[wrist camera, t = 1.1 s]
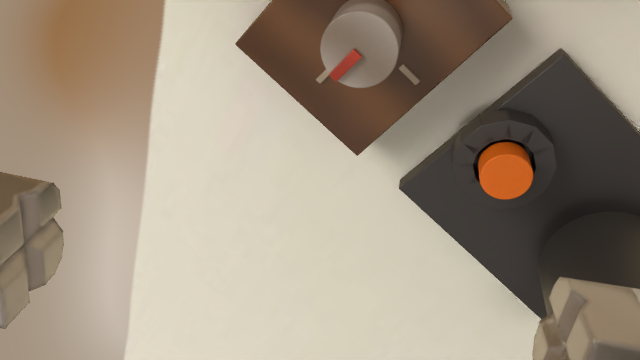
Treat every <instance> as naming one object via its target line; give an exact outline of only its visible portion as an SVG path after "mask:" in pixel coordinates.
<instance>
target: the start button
mask: <svg viewBox="0 0 640 360" xmlns="http://www.w3.org/2000/svg"><path fill="white" fill-rule="evenodd" d="M478 170H479V179H480V184H481V186H482V188H483V190H484V191H485V192H486V193H487V194H489V195H490V196H492V197H494V198H497V199H513V198H516V197H519V196H521V195H522V194H524V193H525V192H526V191H527V190H528V189H529V187H530V186H531V184H532V181H533V170H532V166H531V162H530V159H529V156H528V154H527V152H526V151H525V150H524V149H523V148H522V147H521V146H519V145H517V144H515V143H511V142H499V143H495V144H493V145H491V146H489V147H488V148H487V149H485V150H484V151H483V153H482V154H481V156H480V158H479V161H478Z"/></svg>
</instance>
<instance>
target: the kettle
mask: <svg viewBox="0 0 640 360" xmlns="http://www.w3.org/2000/svg"><path fill="white" fill-rule="evenodd" d="M538 274H539V279H540V284H541V288H542V293H543V298H544V302H545V307H546V312H547V316H548V315H549V314H551V313H553V309H552V306H551V303H550V300H549V297H550V294H551V292H552V289H553V286H554V284H555V283H556V282H557V280H558V279H559V277H565V278H572V279H578V280H585V281H591V282H597V283H604V284H610V285H616V286H623V287H629V288H636V289H640V216H637V215H633V214H629V213H622V212H602V213H595V214H590V215H587V216H583V217H580V218H578V219H576V220H573V221H571V222H569V223H568V224H566V225H564V226H563V227H562V228H560V229H559V230H557V231H556V232H555V233H554V234H553V235H552V236H551V237H550V239H549V240H548V241H547V242H546V244H545V246H544V247H543V249H542V251H541V254H540V257H539V261H538Z"/></svg>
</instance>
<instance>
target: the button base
mask: <svg viewBox="0 0 640 360" xmlns="http://www.w3.org/2000/svg"><path fill="white" fill-rule="evenodd" d="M499 142H511V143H515V144H517V145H519V146H521V147H522V148H523V149H524V150H525V151H526V152H527V154H528V156H529V159H530V162H531V166H532V170H533V181H532V184H531V186H530V187H529V189H528V190H527V191H526V192H525V193H524V194H522V195H521V196H519V197H516V198H513V199H497V198H494V197H492V196H490V195H489V194H487V193H486V192H485V191H484V190H483V188H482V186H481V184H480V179H479V170H478V161H479V158H480V156H481V154H482V153H483V151H484V150H485V149H487V148H488V147H489V146H491V145H493V144H495V143H499ZM399 189H400V190H401V191H402V192H404V193H405V194H406V195H407V196H408V197H409V198H410V199H411V200H412V201H413V202H414V203H416V204H417V205H418V206H419V207H420V208H421V209H422V210H423V211H424V212H425V213H426V214H428V215H429V216H430V217H431V218H432V219H433V220H434V221H435V222H436V223H437V224H438V225H440V226H441V227H442V228H443V229H444V230H445V231H446V232H447V233H448V234H449V235H450V236H451V237H453V238H454V239H455V240H456V241H457V242H458V243H459V244H460V245H461V246H462V247H463V248H465V249H466V250H467V251H468V252H469V253H470V254H471V255H472V256H473V257H474V258H475V259H477V260H478V261H479V262H480V263H481V264H482V265H483V266H484V267H485V268H486V269H487V270H489V271H490V272H491V273H492V274H493V275H494V276H495V277H496V278H497V279H498V280H499V281H500V282H502V283H503V284H504V285H505V286H506V287H507V288H508V289H509V290H510V291H511V292H512V293H514V294H515V295H516V296H517V297H518V298H519V299H520V300H521V301H522V302H523V303H524V304H526V305H527V306H528V307H529V308H530V309H531V310H532V311H533V312H534V313H535V314H536V315H538V316H539V317H540V318H541V319H543V318H545V317H546V316H547V312H546V307H545V302H544V298H543V293H542V288H541V284H540V279H539V274H538V261H539V257H540V254H541V251H542V249H543V247H544V246H545V244H546V242H547V241H548V240H549V239H550V237H551V236H552V235H553V234H554V233H555V232H556V231H557V230H559V229H560V228H562V227H563V226H564V225H566V224H568V223H569V222H571V221H573V220H576V219H578V218H580V217H583V216H587V215H590V214H595V213H602V212H622V213H629V214H633V215H637V216H640V133H639V132H638V130H637V129H636V128H635V127H634V126H633V125H632V124H631V123H630V122H629V121H628V120H627V119H626V118H625V116H624V115H623V114H622V113H621V112H620V111H619V110H618V109H617V108H616V107H615V106H614V105H613V104H612V102H611V101H610V100H609V99H608V98H607V97H606V96H605V95H604V94H603V93H602V92H601V91H600V90H599V89H598V87H597V86H596V85H595V84H594V83H593V82H592V81H591V80H590V79H589V78H588V77H587V76H586V75H585V73H584V72H583V71H582V70H581V69H580V68H579V67H578V66H577V65H576V64H575V63H574V62H573V61H572V59H571V58H570V57H569V56H568V55H567V54H566V53H565V52H564V51H563V50H562V49H560V50H558V51H557V52H556V53H555V54H553V55H552V56H551V57H550V58H549V59H547V60H546V61H545V62H544V63H542V64H541V65H540V66H539V67H538V68H536V69H535V70H534V71H533V72H531V73H530V74H529V75H528V76H527V77H525V78H524V79H523V80H522V81H520V82H519V83H518V84H517V85H516V86H514V87H513V88H512V89H511V90H509V91H508V92H507V93H506V94H505V95H503V96H502V97H501V98H500V99H498V100H497V101H496V102H495V103H494V104H492V105H491V106H490V107H489V108H487V109H486V110H485V111H484V112H483V113H481V114H479V115H478V116H477V117H476V118H474V119H473V120H472V121H471V122H469V123H468V124H467V125H466V126H465V127H463V128H462V129H461V130H460V131H459V132H458V133H457V134H456V135H454V136H453V137H452V138H451V139H450V140H448V141H447V142H446V143H445V144H443V145H442V146H441V147H440V148H439V149H437V150H436V151H435V152H434V153H432V154H431V155H430V156H429V157H428V158H426V159H425V160H424V161H423V162H421V163H420V164H419V165H418V166H417V167H415V168H414V169H413V170H412V171H410V172H409V173H408V174H407V175H406V176H404V177H403V178H402V179H401V180H400V185H399Z"/></svg>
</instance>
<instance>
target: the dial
mask: <svg viewBox="0 0 640 360" xmlns="http://www.w3.org/2000/svg"><path fill="white" fill-rule="evenodd" d="M402 36H403V27H402V23H401V19H400V17H399V15H398V13H397V12H396V10H395V9H394V8H393V7H392V6H391V5H390V4H389V3H387V2H386V1H384V0H349V1H347V2H346V3H344V4H343V5H342V6H341V7H340V8H339V10H338V11H337V12H336V14H335V16H334V17H333V19H332V20H331V22H330V23H329V25H328V27H327V28H326V30H325V32H324V34H323V36H322V40H321V48H320V51H321V57H322V61H323V64H324V66H325V68H326V69H327V71H328V72H329V76H330V77H331V78H332V79H333V80H334V81H335V82H337V81H339V82H340V83H342V84H344V85H347V86H350V87H354V88H367V87H371V86H374V85H377V84H379V83H381V82H382V81H384V80H385V79H386V78H387V77H388V76H389V75H390V74H391V73H392V71H393V70H394V68H395V66H396V63H397V60H398V56H399V51H400V46H401V42H402Z"/></svg>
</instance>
